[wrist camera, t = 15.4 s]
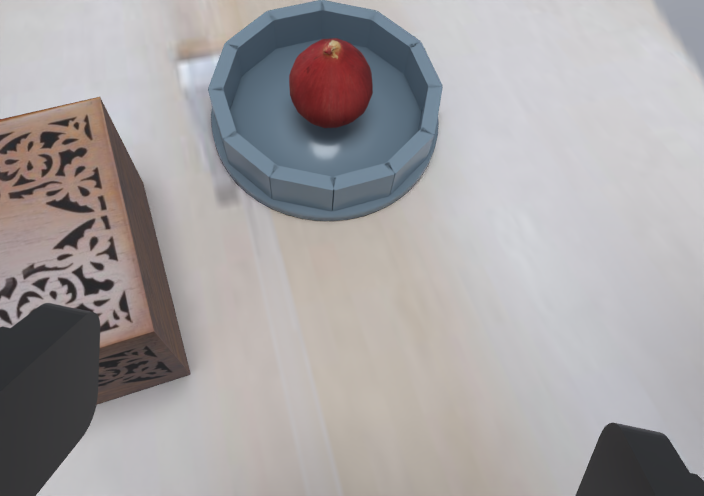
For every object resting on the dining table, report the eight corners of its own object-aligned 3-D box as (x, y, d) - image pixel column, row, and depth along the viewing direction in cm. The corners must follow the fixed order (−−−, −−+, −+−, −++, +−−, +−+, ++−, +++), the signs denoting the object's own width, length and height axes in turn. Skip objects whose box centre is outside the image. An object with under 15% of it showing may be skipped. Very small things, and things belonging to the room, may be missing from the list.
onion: (289, 85, 46) (286, 4, 39) (364, 85, 47) (375, 5, 39) (291, 150, 44) (287, 77, 37) (370, 149, 44) (382, 77, 37)
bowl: (449, 58, 50) (460, 22, 46) (418, 242, 43) (428, 216, 39) (246, 18, 50) (241, -21, 46) (183, 194, 43) (172, 164, 39)
